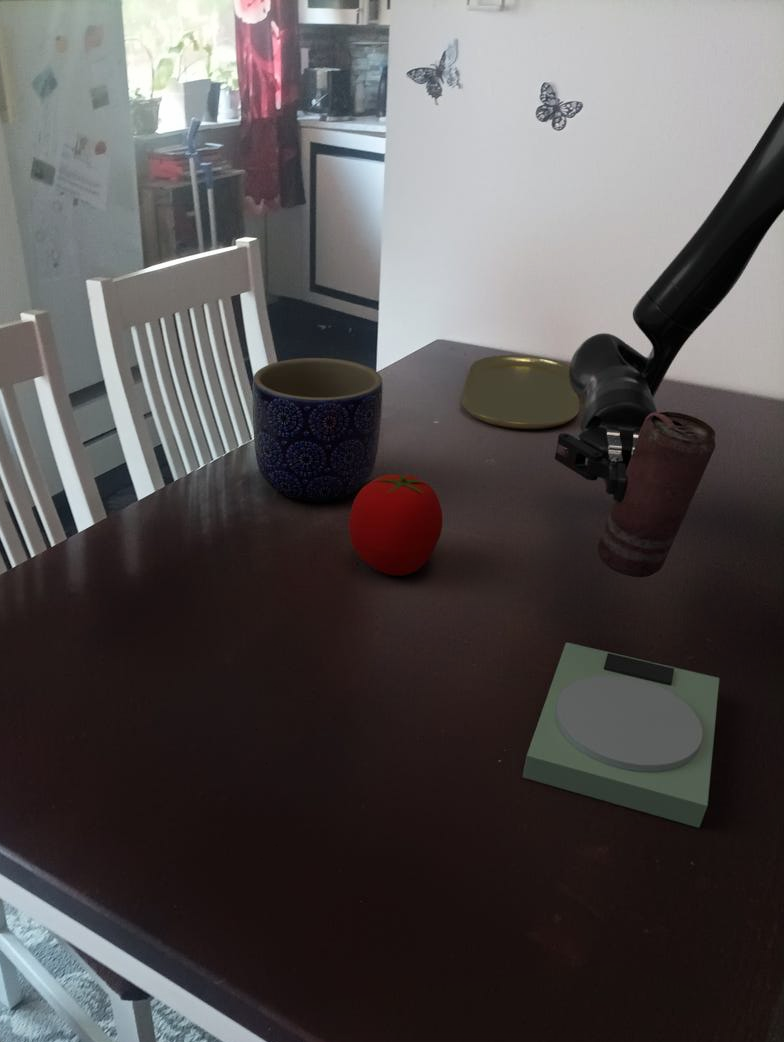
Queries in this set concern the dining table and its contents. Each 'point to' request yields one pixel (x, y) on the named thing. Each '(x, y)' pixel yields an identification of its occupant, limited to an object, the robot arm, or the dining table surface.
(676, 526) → the can
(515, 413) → the serving platter
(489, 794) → the dining table surface
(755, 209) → the robot arm
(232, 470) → the dining table surface
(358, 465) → the planter
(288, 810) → the dining table surface
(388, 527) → the tomato
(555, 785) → the scale
